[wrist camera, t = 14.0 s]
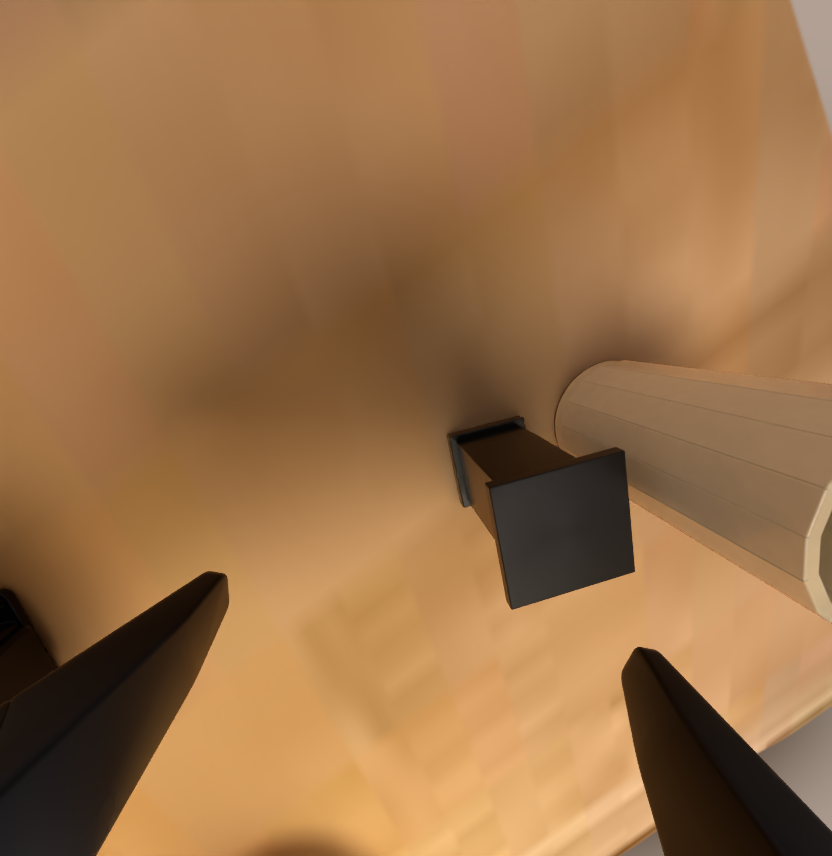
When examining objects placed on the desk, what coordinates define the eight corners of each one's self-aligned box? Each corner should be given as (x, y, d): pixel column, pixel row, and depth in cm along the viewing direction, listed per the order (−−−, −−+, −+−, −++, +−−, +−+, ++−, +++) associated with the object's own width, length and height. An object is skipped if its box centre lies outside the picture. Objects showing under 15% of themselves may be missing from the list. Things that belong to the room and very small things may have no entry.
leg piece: (454, 512, 22) (511, 610, 14) (436, 428, 21) (488, 487, 13) (537, 488, 22) (635, 572, 15) (525, 406, 21) (625, 450, 14)
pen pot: (561, 485, 23) (800, 662, 11) (547, 375, 21) (811, 439, 9) (663, 456, 23) (997, 593, 11) (657, 347, 22) (1042, 372, 10)
